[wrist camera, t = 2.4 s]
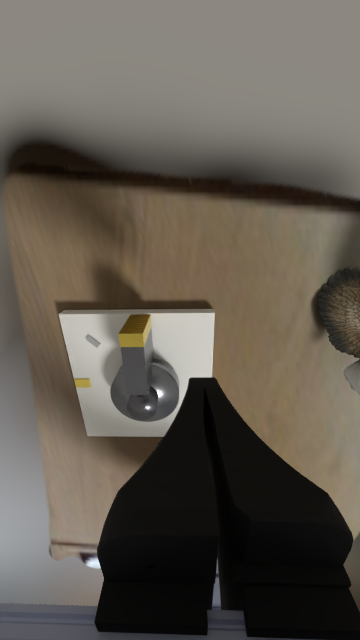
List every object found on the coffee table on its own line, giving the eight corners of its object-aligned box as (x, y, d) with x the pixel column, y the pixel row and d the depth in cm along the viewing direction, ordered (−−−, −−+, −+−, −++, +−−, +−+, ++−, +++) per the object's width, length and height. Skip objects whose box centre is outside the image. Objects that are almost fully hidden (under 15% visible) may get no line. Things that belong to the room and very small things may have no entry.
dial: (180, 409, 22) (179, 443, 19) (119, 409, 22) (107, 442, 19) (177, 313, 18) (176, 333, 15) (104, 313, 18) (85, 333, 15)
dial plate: (213, 308, 19) (214, 313, 18) (208, 429, 25) (209, 438, 24) (64, 309, 20) (57, 314, 19) (91, 428, 25) (86, 437, 24)
